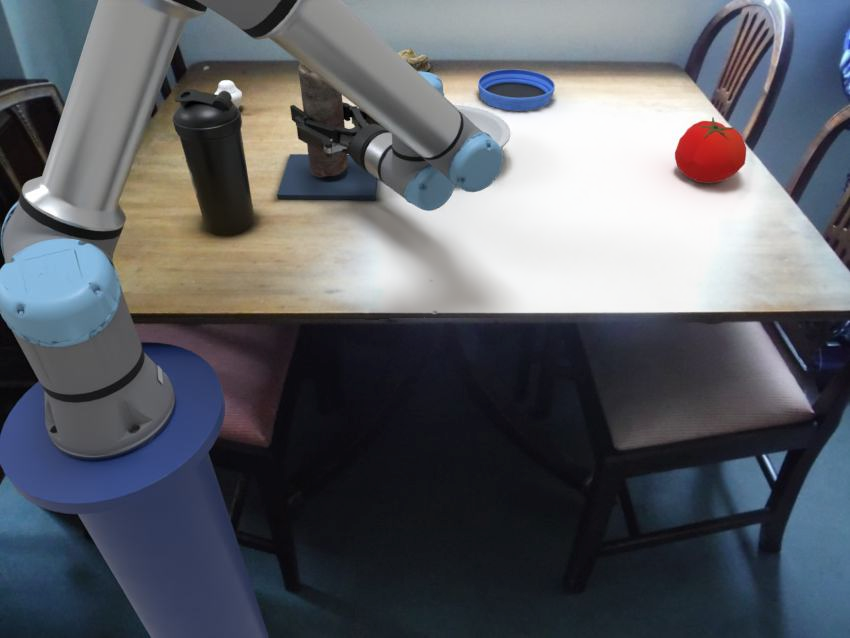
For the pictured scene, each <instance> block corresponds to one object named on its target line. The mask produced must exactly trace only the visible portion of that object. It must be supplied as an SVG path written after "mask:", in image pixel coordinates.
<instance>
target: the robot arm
mask: <svg viewBox="0 0 850 638" xmlns="http://www.w3.org/2000/svg"><path fill="white" fill-rule="evenodd" d="M208 9H209V10H211V11H213V12H214V13H216V14H218V15H219V16H221V17H222V18H224V19H226V21H228V22H230V23H232V24H233V25H234V26H236V27H237V28H238V29H240V30H241V31H243V33H245V34H247V35H248V36H249V37H250V38H252V39H254V40H258V41H259V40H265V39H270V40H271V41H272V42H274V43H275V44H276V45H277V46H278V47H280V48H281V49H282V50H283V51H285V52H286V53H288V54H289V55H290V56H291V57H293V58H294V59H295V60H296V61H298V62H299V63H302V64H303V65H304V66H306V67H307V68H308V69H310V70H311V71H312V72H313V73H315V74H316V75H317V76H319V77H320V78H321V79H322V80H324V81H325V82H326V83H328V84H329V85H330V86H331V87H333V88H334V89H335V90H337V91H338V92H339V93H340V94H342V97H344V98H345V99H347V100H348V101H349V102H350V103H352V104H353V105H351V104H349V103H348V102H344V101H342V102H343V113H344V121H345V122H350V121H351V125H353V126H354V127H350V128H347V127H345V128H344V127H341V126H338V127H337V128H335V127H332V126H328V125H325V124H321V123H318V122H315V121H312V117H311V116H309V115H308V114H306V113H305V112H303V109H301V108H299V107H298V106H296V105H295V104H292V105H289V108H290V109H289V110H290V116H291V121H293V123H295V126H296V133H297V139H298V140H299V141H301V142H303V143H305V144H306V145H307V144H308V145H310V146H312V147H314V148H316V149H318V150H319V151H321V152H323V153H324V155H325V156H326V157H328V158H331V157H333V153H334V152H338V151H341V152H342V153H345V154H347V155H350V156H351V158H352V159H353V160H354V162H355V163H356V164H357V165H358V166H360V167H361V168H363V169H364V170H365V171H367V172H369V173H370V174H372V175H373V176H374V177H376V178H377V180H378V181H379V182H381V183H382V184H384V185H386V186H387V187H389V188H390V189H391V190H392V191H394V192H395V193H396V194H398V195H399V196H401V197H402V198H403V199H404V200H405V201H406V202H407V203H409V204H412V205H414V206H415V207H417V208H418V209H420V210H423V211H427V212H431V211H432V212H433V211H434V210H438V209H440V208H441V207H443V206H444V205H445V204H447V202H448V201H449V200H450V198H451V197H452V195H453V192H454V190H455V186H457V187H458V188H459V189H461V190H462V191H464V192H467V193H476V192H481V191H483V190H485V189H487V188H489V187H490V186H491V185H492V184H493V183H494V182H495V181H496V179H497V177H499V175H500V173H501V171H502V168H503V165H504V153H503V150H502V148H501V147H500V146H499V144H498V143H497V142H495V141H494V140H493V139H492V138H491V136H490V135H489V134H487V133H485V132H483V131H481V130H480V129H479V128H478V127H477V126H475V125H474V124H473V123H472V122H471V121H470V120H469V119H468V118H467V117H466V116H465V115H464V114H462V113H461V112H460V111H459V110H457V108H456V107H455V106H454V105H455V104H453V103H452V102H451V101H450V100H449V99H448V98H447V97H446V96H445V93H444V84H443V81H442V79H441V77H439V76H438V75H436V74H435V73H432V72H428V71H426V72H421V71H416V70H415V69H414V68H413V67H412V66H411V65H410V64H409V63H408V62H406V61H405V60H404V59H403V58H402V57H401V56H400V55H399V54H398V52H397V51H396V50H395V49H393V48H392V47H391V45H390V44H388V43H387V42H386V41H385V40H384V39H383V38H382V37H381V36H380V35H378V33H377V32H376V31H374V30H373V29H372V28H371V27H370V26H369V25H368V24H367V23H365V22H364V20H362V19H361V18H360V17H359V16H358V15H357V14H356V13H355V12H354V11H353V10H351V9H350V8H349V6H347V4H345V3H344V2H343V1H342V0H98V1H97V4H96V7H95V10H94V14H93V16H92V19H91V23H90V25H89V26H90V27H89V28H88V31H87V35H86V39H85V41H84V44H83V48H82V51H81V55H80V57H79V60H78V64H77V66H76V70H75V73H74V76H73V79H72V81H71V85H70V88H69V91H68V94H67V98H66V101H65V103H64V107H63V110H62V113H61V116H60V119H59V123H58V126H57V129H56V132H55V134H54V138H53V141H52V143H51V147H50V151H49V154H48V157H47V159H46V163H45V166H44V169H43V172H42V176H38V177H35V178H32V179H29V180H27V181H25V183H24V184H23V186H22V188H21V192H20V195H19V198H18V200H17V201H16V202H15V203H14V204H13V205H12V207H11V208H10V209H9V211H8V212H7V214H6V215H5V218H4V221H3V224H2V227H1V232H0V247H1V251H2V255H3V258H4V264H3V265H2V266H1V268H0V315H1V318H2V319H3V320H4V322H5V323H6V325H7V327H8V328H9V329H10V330H11V332H12V333H13V335H14V337H15V339H16V341H17V343H18V344H19V345H18V346H20V348H21V350H22V353H23V354H24V355H25V358H26V359H27V361H28V363H29V365H30V367H31V369H32V370H33V372H34V374H35V376H36V378H37V379H38V382H40V383H41V385H42V387H43V389H44V393H45V423H46V428H47V431H48V434H49V436H50V438H51V440H52V442H53V443H54V445H55V447H56V448H57V449H58V450H59V451H60V452H61V453H63V454H65V455H66V456H68V457H71V458H74V459H77V460H82V461H104V460H110V459H115V458H119V457H122V456H125V455H127V454H130V453H132V452H134V451H136V450H138V449H140V448H142V447H144V446H145V445H147V444H148V443H150V442H151V441H152V440H154V439H155V438H156V437H157V436H158V435H159V434H160V433H161V432H162V431H163V430H164V429H165V428H166V427H167V425H168V424H169V422H170V421H171V419H172V417H173V415H174V412H175V409H176V394H175V391H174V388H173V385H172V383H171V381H170V380H169V378H168V376H167V375H166V374H165V373H164V372H163V371H162V369H161V368H160V367H159V366H158V367H157V366H156V365H155V363H154V362H153V361H152V360H151V359H150V358H149V357H148V356H147V355H146V354H145V353H144V350H143V348H142V345H141V342H142V341H141V339H140V336H139V334H138V332H137V329H136V326H135V324H134V321H133V318H132V315H131V312H130V310H129V307H128V304H127V301H126V298H125V295H124V292H123V289H122V286H121V280H120V278H119V277H120V276H119V275H118V273H117V270H116V268H115V264H114V260H113V258H114V254H115V251H116V248H117V245H118V242H119V240H120V238H121V235H122V232H123V230H124V227H125V224H126V220H127V216H126V213H125V212H124V210H123V208H122V206H121V205H120V203H119V202H120V199H121V197H122V194H123V191H124V188H125V186H126V183H127V180H128V178H129V175H130V172H131V170H132V168H133V165H134V162H135V159H136V156H137V154H138V151H139V149H140V146H141V143H142V140H143V138H144V135H145V133H146V130H147V127H148V124H149V122H150V119H151V117H152V114H153V111H154V109H155V106H156V103H157V100H158V98H159V96H160V92H161V90H162V87H163V84H164V81H165V79H166V77H167V74H168V71H169V69H170V65H171V63H172V61H173V58H174V55H175V52H176V49H177V48H178V44H179V41H180V38H181V36H182V33H183V31H184V28H185V25H186V23H187V22H188V21H189V20H192V19H196V18H198V17H201V16H204V15H205V14H206V12H207V10H208Z"/></svg>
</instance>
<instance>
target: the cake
mask: <svg viewBox="0 0 850 638" xmlns="http://www.w3.org/2000/svg"><path fill="white" fill-rule="evenodd" d="M397 53H398V54H399V55H400V56H401V57H402V58H403V59H404V60H405V61H406V62H408V63H409V64H410V65H411V66H412V67H413V68H414V69H415V70H416V71H421V72H428V71H429V70H430V69H431V64H430V59H429V56H427V55H424V54H421V55H417V54H416V53H415V50H414V49H413V48H412V47H410V48H409V49H406V48H405V49H402V50H400V51H398V52H397Z"/></svg>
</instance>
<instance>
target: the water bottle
mask: <svg viewBox="0 0 850 638" xmlns="http://www.w3.org/2000/svg"><path fill="white" fill-rule="evenodd" d="M231 100H232V96H231V94H230V93H229V92H227V91H221V92H220V93H219V94H218V95H215V93H210V92H204V91H201V90H198V89H194V88H185V89H182V90H180V92H179V93H178V94H177V95H176V96H175V97H174V102H175V103H179V105H178V106H177V108H176V109H175V111H174V112H175V113H174V114H173V116H172V123H173V127H174V130H175V132H176V134H177V136H178V137H179V139H180V143H181V147H182V151H183V153H184V157H185V162H186V164H187V165H186V166H187V169H188V174H189V175H190V180H191V183H192V186H193V191H194V193H195V198H196V200H197V204H198V206H199V210H200V214H201V218H202V220H203V225H204V227H205V230H206V232H208V233H210V234H211V235H214V236H218V237H233V236H237V235H241V234H243V233H245V232H247V231H249V230H250V229H251V228H252V227H253V226H254V224H255V219H256V218H255V214H254V207H253V199H252V194H251V193H252V192H251V188H250V187H251V186H250V181H249V175H248V168H247V160H246V154H245V147H244V143H243V142H244V141H243V135H242V125H243V119H242V114H241V110H240V108H239V109H238V108H237V107H236V106H235V105H234V104H233V103H232V101H231Z"/></svg>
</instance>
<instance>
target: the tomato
mask: <svg viewBox="0 0 850 638" xmlns="http://www.w3.org/2000/svg"><path fill="white" fill-rule="evenodd" d="M746 157H747V145H746V142H745V140H744V137H743V136H742V134H741V133H740V132H739V131H738V130H737V129H735V127H731V126H730V127H729V126H725V125H724V124H723V123H720V122H717V121H715V119H714V117H713V116H712V117H711V120H700V121H698V122H696V123H694V124H692V125H691V126H689V127H688V128H687V129H686V131H685V132H684V134H683V135H682V136H681V137H680V138H679V140H678V143H677V146H676V148H675V151H674V160H675V164H676V166H677V168H678V170H679V171H680V172H681V173H682V174H683V175H684V176H685V177H687V178H689V179H691V180H693V181H695V182H697V183H709V184H710V183H711V184H712V183H718V182H721V181H725V180H727V179H730V178H731V177H732V176H734V175H736V173H738V172H739V171H740V170H741V169H742V168H743V167H744V166H745V164H746Z"/></svg>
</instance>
